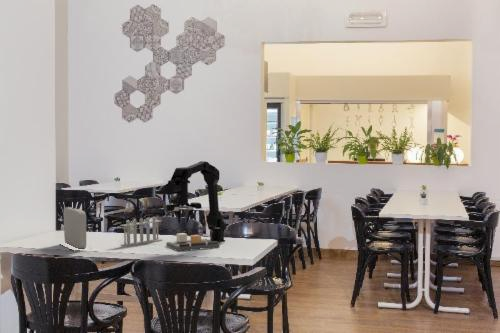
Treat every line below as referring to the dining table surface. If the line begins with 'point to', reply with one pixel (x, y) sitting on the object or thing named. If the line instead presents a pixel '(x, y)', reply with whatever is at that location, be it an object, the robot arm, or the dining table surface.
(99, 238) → the dining table surface
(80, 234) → the wireless router
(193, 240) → the block
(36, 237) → the dining table surface
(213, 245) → the breaker panel
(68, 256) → the dining table surface
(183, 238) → the block
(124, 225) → the test tube rack
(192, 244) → the cord bundle
